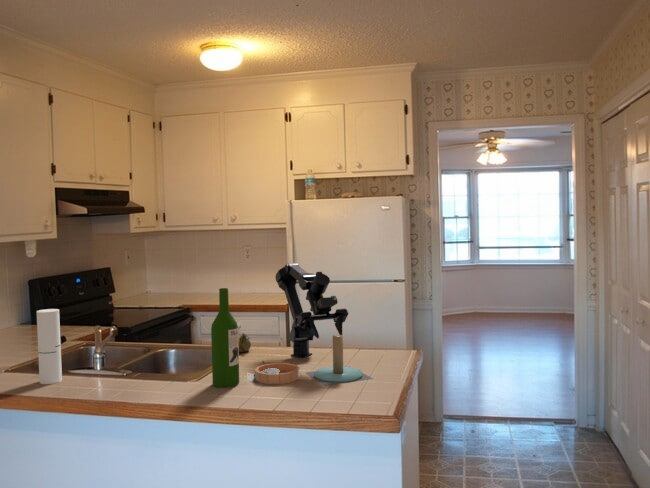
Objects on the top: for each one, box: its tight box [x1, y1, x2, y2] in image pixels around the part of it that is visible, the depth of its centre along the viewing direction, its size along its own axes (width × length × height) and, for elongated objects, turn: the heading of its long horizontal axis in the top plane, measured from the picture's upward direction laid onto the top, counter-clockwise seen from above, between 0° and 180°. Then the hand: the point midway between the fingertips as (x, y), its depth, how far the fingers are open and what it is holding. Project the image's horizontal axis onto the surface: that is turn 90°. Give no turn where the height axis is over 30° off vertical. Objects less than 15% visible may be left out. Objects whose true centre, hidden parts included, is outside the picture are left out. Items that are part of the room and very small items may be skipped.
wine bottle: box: [210, 287, 240, 389], centre depth 199 cm, size 9×9×32 cm
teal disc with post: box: [314, 334, 364, 383], centre depth 206 cm, size 17×17×14 cm
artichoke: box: [238, 332, 252, 353], centre depth 247 cm, size 8×8×8 cm
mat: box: [305, 366, 374, 387], centre depth 207 cm, size 18×18×1 cm
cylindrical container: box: [36, 308, 63, 385], centre depth 206 cm, size 7×7×25 cm
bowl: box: [254, 362, 300, 385], centre depth 205 cm, size 15×15×4 cm
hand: (330, 336), depth 212 cm, fingers open, 9 cm apart
